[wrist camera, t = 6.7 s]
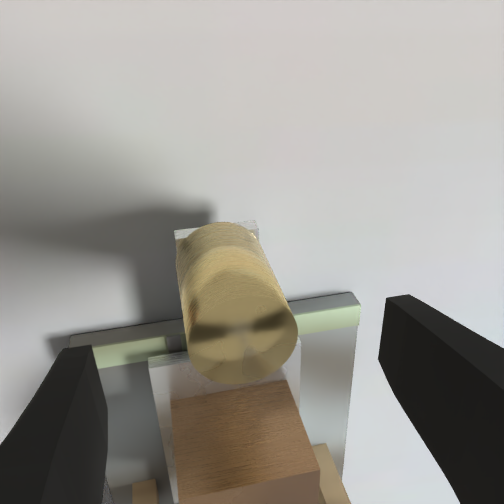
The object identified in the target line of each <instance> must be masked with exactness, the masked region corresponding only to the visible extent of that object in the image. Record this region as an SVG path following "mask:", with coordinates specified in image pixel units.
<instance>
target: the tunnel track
mask: <svg viewBox="0 0 504 504" xmlns="http://www.w3.org/2000/svg"><path fill="white" fill-rule="evenodd" d="M287 303H288V305H289V307H290V310H291V312H292V314H293V316H294V318H295V321H296V323H297V327H298V337H299V339H300V341H301V366H300V402H299V414H300V417H301V419H302V422H303V425H304V427H305V430H306V432H307V435H308V438H309V440H310V443H311V446H312V448H313V451H314V454H315V456H316V459H317V462H318V464H319V467H320V485H319V500H318V504H351V503H350V500H349V498H348V495H347V493H346V491H345V488H344V486H343V483H342V473H343V464H344V454H345V444H346V435H347V425H348V415H349V406H350V396H351V386H352V377H353V367H354V357H355V347H356V338H357V328H358V325H359V320H360V310H361V304H360V303H359V301H358V300H357V299H356V297H355V296H354V294H353V293H352V292H350V293H344V294H337V295H331V296H324V297H318V298H311V299H305V300H298V301H292V302H287ZM90 344H91V345H92V349H93V353H94V357H95V361H96V365H97V368H98V372H99V376H100V380H101V384H102V388H103V391H104V395H105V399H106V403H107V407H108V453H107V463H106V471H105V476H106V479H107V482H108V486H109V489H110V493H111V496H112V499H113V503H114V504H174V501H173V495H172V490H171V485H170V480H169V474H168V469H167V464H166V458H165V453H164V448H163V443H162V437H161V432H160V427H159V421H158V416H157V411H156V406H155V400H154V395H153V390H152V385H151V379H150V374H149V368H148V357H153V356H159V355H165V354H171V353H177V352H183V351H188V348H187V341H186V334H185V327H184V321H183V318H182V319H176V320H169V321H163V322H156V323H150V324H143V325H137V326H130V327H124V328H117V329H111V330H105V331H98V332H92V333H85V334H79V335H72V336H71V337H70V343H69V348H71V347H78V346H84V345H90ZM176 504H179V503H176Z"/></svg>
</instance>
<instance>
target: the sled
mask: <svg viewBox="0 0 504 504" xmlns="http://www.w3.org/2000/svg"><path fill="white" fill-rule="evenodd" d="M174 234H175V242H176V250H177V256H176V272H177V279H178V286H179V293H180V300H181V307H182V314H183V321H184V327H185V334H186V341H187V348H188V351H183V352H177V353H171V354H165V355H159V356H153V357H148V368H149V374H150V379H151V385H152V390H153V395H154V400H155V406H156V411H157V416H158V421H159V427H160V432H161V437H162V443H163V448H164V453H165V458H166V464H167V469H168V474H169V480H170V485H171V490H172V495H173V501H174V504H176V503H179V504H318V500H319V485H320V467H319V464H318V462H317V459H316V456H315V454H314V451H313V448H312V446H311V443H310V440H309V438H308V435H307V432H306V430H305V427H304V425H303V422H302V419H301V417H300V414H299V402H300V366H301V341H300V339H299V337H298V327H297V323H296V321H295V318H294V316H293V314H292V312H291V310H290V307H289V305H288V303H287V301H286V299H285V297H284V295H283V292H282V290H281V288H280V286H279V284H278V282H277V280H276V278H275V275H274V273H273V271H272V269H271V267H270V265H269V263H268V260H267V258H266V256H265V254H264V252H263V250H262V248H261V245H260V243H259V229H258V226H257V224H256V222H255V220H254V221H246V222H237V223H229V222H216V223H211V224H207V225H204V226H202V227H197V228H189V229H181V230H174Z"/></svg>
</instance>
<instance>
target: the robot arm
mask: <svg viewBox="0 0 504 504" xmlns="http://www.w3.org/2000/svg"><path fill="white" fill-rule="evenodd" d="M378 360H379V362H380V365H381V367H382V369H383V372H384V374H385V376H386V378H387V380H388V383H389V385H390V387H391V389H392V391H393V393H394V395H395V397H396V398H397V400H398V401H399V403H400V405H401V406H402V408H403V410H404V411H405V413H406V414H407V416H408V418H409V419H410V421H411V422H412V424H413V426H414V427H415V429H416V430H417V432H418V433H419V435H420V436H421V438H422V440H423V441H424V443H425V444H426V446H427V448H428V449H429V451H430V452H431V454H432V455H433V457H434V459H435V460H436V462H437V463H438V465H439V466H440V468H441V470H442V471H443V473H444V475H445V476H446V478H447V480H448V481H449V483H450V485H451V487H452V488H453V490H454V492H455V494H456V496H457V498H458V500H459V502H460V504H504V348H502V347H500V346H498V345H496V344H495V343H493V342H491V341H489V340H487V339H486V338H484V337H482V336H480V335H479V334H477V333H475V332H473V331H472V330H470V329H468V328H466V327H465V326H463V325H461V324H460V323H458V322H456V321H454V320H453V319H451V318H449V317H448V316H446V315H444V314H443V313H441V312H439V311H438V310H436V309H434V308H432V307H431V306H429V305H427V304H426V303H424V302H422V301H420V300H418V299H417V298H415V297H413V296H411V295H409V294H408V295H401V296H395V297H389V298H386V303H385V311H384V318H383V326H382V334H381V341H380V349H379V356H378ZM107 453H108V407H107V403H106V399H105V395H104V391H103V388H102V384H101V380H100V376H99V372H98V368H97V365H96V361H95V357H94V353H93V349H92V345H91V344H90V345H84V346H78V347H71V348H65V349H63V350H62V351H61V352H60V353H59V355H58V357H57V359H56V360H55V362H54V364H53V365H52V367H51V369H50V370H49V372H48V374H47V376H46V377H45V379H44V380H43V382H42V384H41V385H40V387H39V389H38V390H37V392H36V393H35V395H34V397H33V398H32V400H31V401H30V403H29V404H28V406H27V407H26V409H25V410H24V412H23V413H22V415H21V416H20V418H19V419H18V421H17V422H16V424H15V425H14V427H13V428H12V430H11V431H10V432H9V434H8V435H7V436H6V438H5V439H4V440H3V442H2V443H1V445H0V504H102V497H103V489H104V480H105V471H106V463H107Z"/></svg>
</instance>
